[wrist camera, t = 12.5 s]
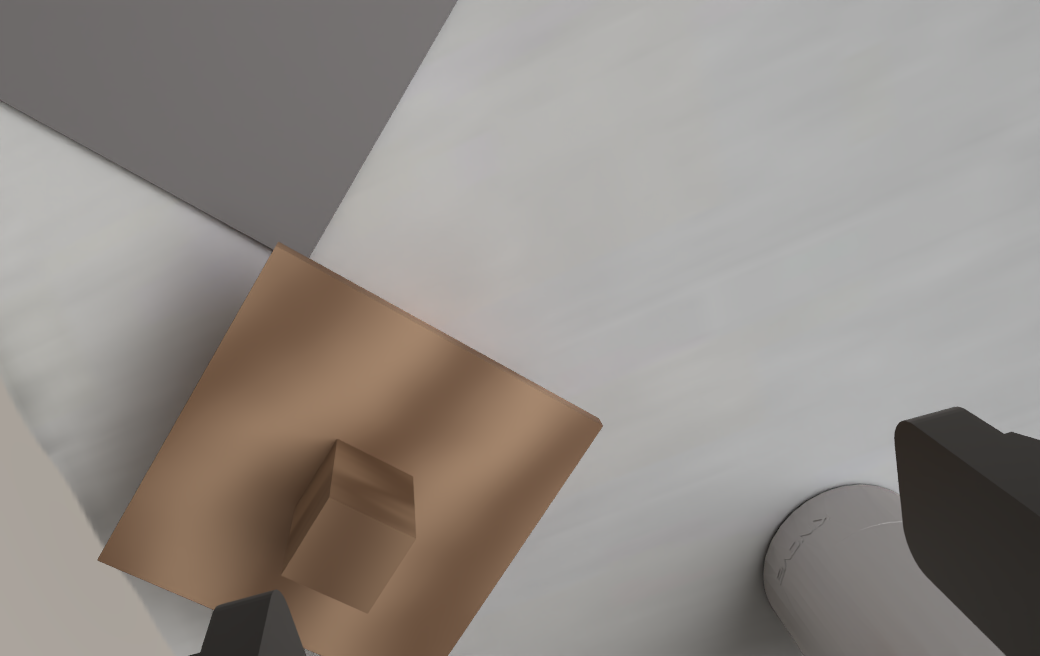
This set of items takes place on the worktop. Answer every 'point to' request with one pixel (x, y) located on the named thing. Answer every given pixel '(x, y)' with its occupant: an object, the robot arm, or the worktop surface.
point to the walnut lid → (349, 470)
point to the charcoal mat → (223, 94)
